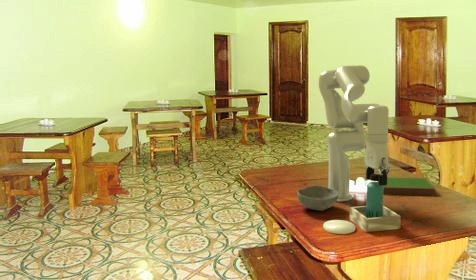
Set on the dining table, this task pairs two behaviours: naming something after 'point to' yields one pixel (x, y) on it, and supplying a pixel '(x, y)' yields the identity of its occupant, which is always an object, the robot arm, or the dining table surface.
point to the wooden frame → (375, 219)
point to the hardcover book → (408, 186)
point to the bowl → (317, 197)
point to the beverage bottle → (374, 198)
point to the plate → (339, 227)
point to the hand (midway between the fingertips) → (376, 182)
